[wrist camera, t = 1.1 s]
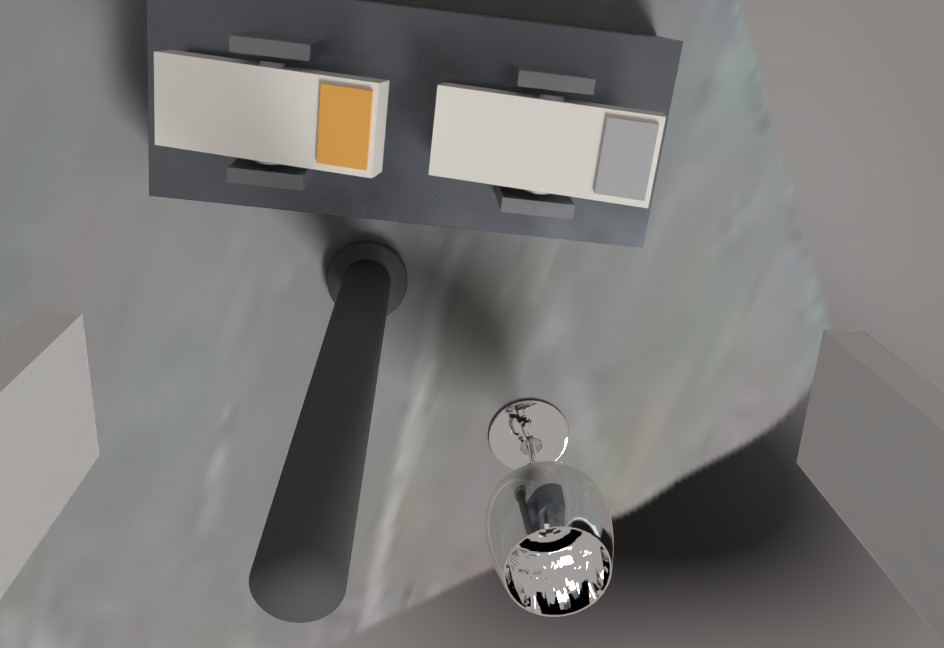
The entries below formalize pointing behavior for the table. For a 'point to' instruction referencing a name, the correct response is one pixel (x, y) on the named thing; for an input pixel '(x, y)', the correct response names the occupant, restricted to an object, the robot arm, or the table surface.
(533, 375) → the table surface
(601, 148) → the paddle
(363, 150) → the paddle
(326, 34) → the panel
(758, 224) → the table surface
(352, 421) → the post
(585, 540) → the wineglass
